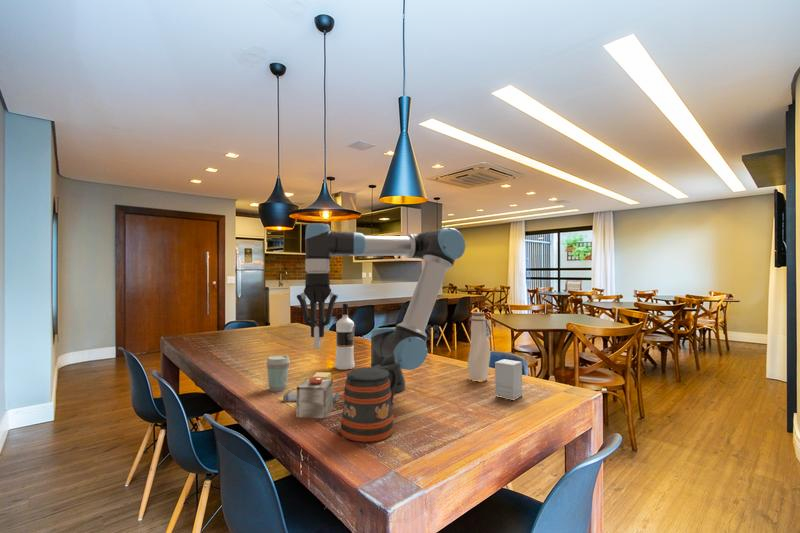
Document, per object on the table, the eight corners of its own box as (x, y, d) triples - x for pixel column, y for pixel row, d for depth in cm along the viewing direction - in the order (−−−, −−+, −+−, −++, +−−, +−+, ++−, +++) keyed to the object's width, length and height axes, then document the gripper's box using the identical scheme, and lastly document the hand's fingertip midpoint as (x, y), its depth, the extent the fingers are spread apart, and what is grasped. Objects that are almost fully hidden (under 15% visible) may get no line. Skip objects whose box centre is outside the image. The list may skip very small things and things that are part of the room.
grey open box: (332, 407, 125) (333, 379, 125) (325, 418, 116) (326, 387, 116) (305, 407, 125) (305, 379, 125) (296, 417, 116) (296, 387, 116)
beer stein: (374, 413, 120) (375, 349, 120) (413, 425, 111) (413, 355, 111) (329, 433, 104) (330, 359, 105) (369, 448, 96) (370, 367, 96)
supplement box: (523, 396, 138) (523, 361, 139) (513, 401, 133) (513, 364, 133) (504, 392, 143) (504, 358, 144) (494, 396, 138) (494, 361, 138)
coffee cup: (282, 393, 139) (283, 360, 139) (261, 392, 141) (261, 359, 141) (293, 387, 147) (294, 355, 148) (273, 385, 149) (273, 354, 149)
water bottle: (495, 379, 162) (495, 312, 162) (487, 384, 154) (488, 314, 155) (472, 375, 167) (472, 311, 168) (464, 380, 159) (464, 312, 160)
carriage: (330, 397, 135) (331, 372, 135) (326, 402, 129) (327, 377, 129) (316, 396, 135) (317, 372, 135) (311, 402, 129) (312, 376, 129)
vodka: (338, 365, 184) (339, 302, 185) (357, 366, 183) (357, 302, 183) (331, 369, 175) (332, 303, 176) (351, 370, 173) (351, 304, 174)
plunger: (323, 393, 122) (323, 376, 122) (320, 397, 118) (320, 380, 118) (310, 393, 123) (311, 376, 123) (307, 397, 119) (307, 379, 119)
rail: (338, 398, 134) (339, 392, 134) (335, 403, 129) (335, 397, 129) (288, 397, 135) (288, 391, 135) (283, 401, 130) (283, 395, 130)
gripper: (340, 272, 125) (340, 345, 124) (301, 272, 126) (300, 345, 125) (335, 272, 117) (335, 350, 117) (293, 272, 118) (293, 349, 118)
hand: (317, 347), depth 121 cm, fingers closed
